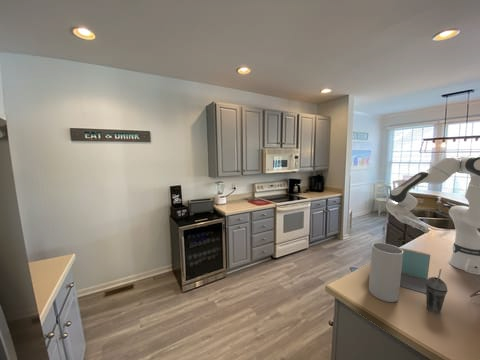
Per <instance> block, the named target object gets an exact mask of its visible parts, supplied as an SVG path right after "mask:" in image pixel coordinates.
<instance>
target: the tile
mask: <svg viewBox="0 0 480 360" xmlns="http://www.w3.org/2000/svg"><path fill="white" fill-rule="evenodd" d="M397 247H398V246H397ZM398 248H400V249H402V250H403V260H402V269H401V273H403V274H407V275H411V276H415V277H419V278H423V279H428V278H429V268H430V263H431V262H430V261H431V254H430V253H428V252H423V251H418V250H413V249H408V248H402V247H398Z"/></svg>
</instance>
